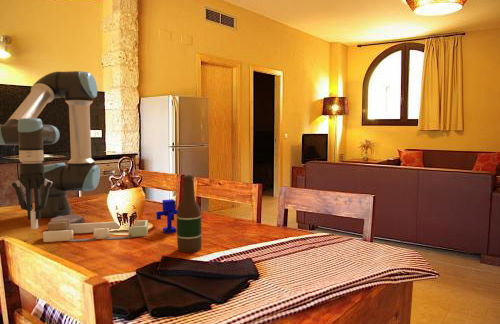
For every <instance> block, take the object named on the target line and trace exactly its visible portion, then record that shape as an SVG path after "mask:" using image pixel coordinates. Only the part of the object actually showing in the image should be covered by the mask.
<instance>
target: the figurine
mask: <svg viewBox="0 0 500 324" xmlns="http://www.w3.org/2000/svg"><path fill="white" fill-rule="evenodd" d="M161 203H162V211H161V210H160V211H155V212H156V213H155V214H156V220H158V221H159V220H162V216H164V217H166V224H167V226H166V227H163V228H162V232H164V233H165V234H173V233H177V227H175V226H172V225H173V223H172V222H173V221H175V215H177V207H176V206H177V205H176V203H177V201H176V200H175V199H173V198H171V199H170V198H169V199H162V202H161Z"/></svg>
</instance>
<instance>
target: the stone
mask: <svg viewBox="0 0 500 324" xmlns="http://www.w3.org/2000/svg"><path fill="white" fill-rule="evenodd" d="M61 219H70V224H80V223H86V221H85V216H81V215H79V214H75V213H74V214H73V213H69V214H66V215H62V216H55V217H53V218H50V220H49V222H50V221H52V220H61Z"/></svg>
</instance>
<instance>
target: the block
mask: <svg viewBox="0 0 500 324" xmlns="http://www.w3.org/2000/svg"><path fill="white" fill-rule="evenodd" d="M64 230H70V219H61V220H52V221H50V220H49V222H48V223H47V231H64Z"/></svg>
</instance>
